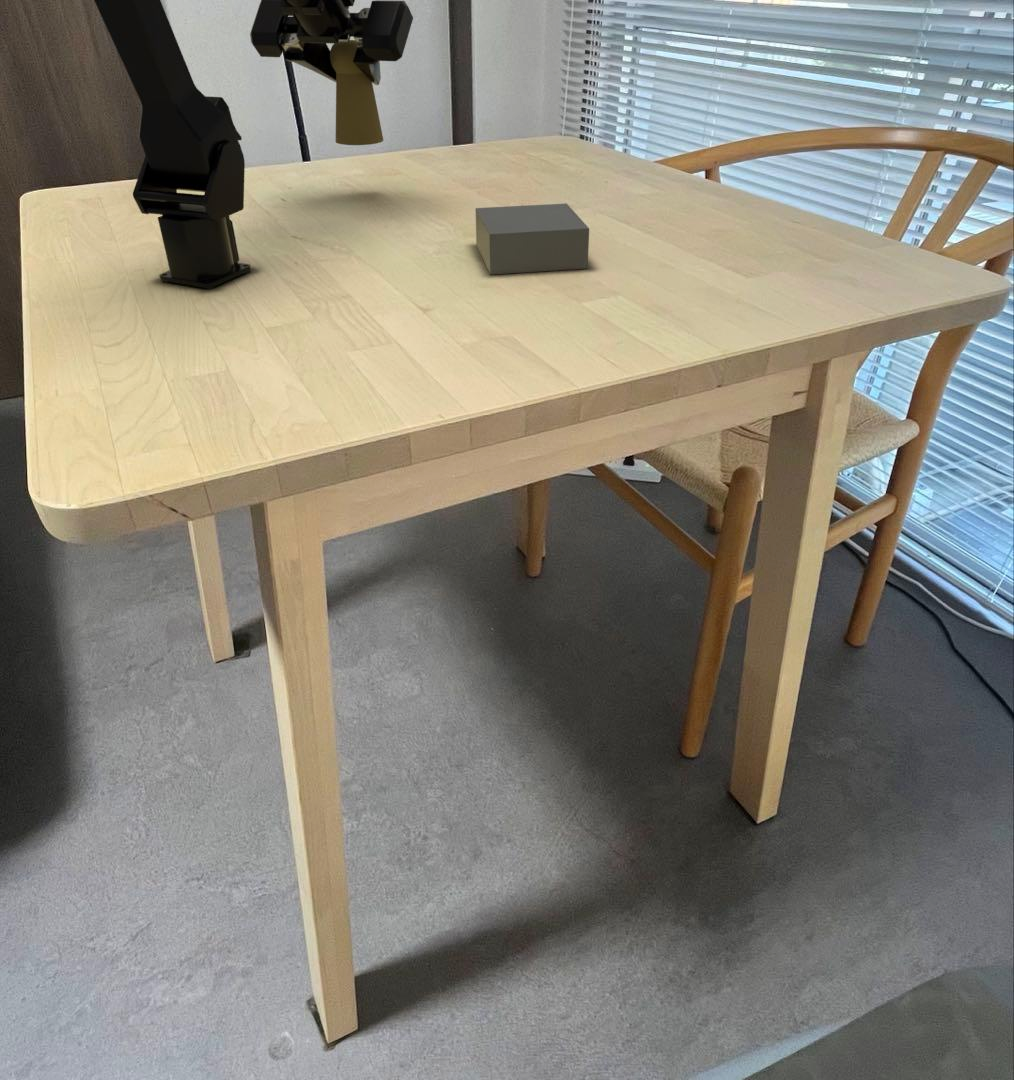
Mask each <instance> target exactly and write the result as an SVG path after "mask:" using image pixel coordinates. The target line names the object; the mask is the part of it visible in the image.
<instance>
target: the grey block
mask: <svg viewBox="0 0 1014 1080" xmlns="http://www.w3.org/2000/svg"><path fill="white" fill-rule="evenodd" d="M475 237H476V238H475V241H476V242H475V243H476V244H475V245H476V248H477V250H478V252H479V254H480V256H481V258H482V261H483V263H484V264H485V266H486V268H487V271H488V272H489V274H490V275H507V274H522V273H523V274H524V273H538V272H554V271H573V270H587V269H588V265H589V248H590V247H589V246H590V228H589V226H588V225H587V224H586V223H585V222H584V221H583V220H582V219H581V218H580V216H579V215H578V214H577V213H576V212H575V211H574V210H573V208H572V207H571V206H570V205H569V204H568V203H549V204H529V205H527V204H526V205H509V206H492V207H491V206H490V207H489V206H488V207H476V208H475Z"/></svg>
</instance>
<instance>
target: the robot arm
mask: <svg viewBox="0 0 1014 1080" xmlns="http://www.w3.org/2000/svg"><path fill="white" fill-rule="evenodd" d="M93 2H94V3H95V6H96V8H97V10H98V12H99V14H100V17H101V19H102V21H103V23H104V25H105V27H106V30H107V32H108V34H109V36H110V39H111V40H112V42H113V46H114V47H115V50H116V52H117V54H118V56H119V58H120V60H121V62H122V65H123V66H124V69H125V70H126V73H127V75H128V77H129V79H130V82H131V84H132V86H133V88H134V90H135V92H136V94H137V96H138V99H139V101H140V105H141V109H140V119H139V126H138V127H139V129H138V130H139V131H138V137H139V140H140V144H141V147H142V149H143V152H144V158H143V162H142V164H141V167H140V169H139V174H138V176H137V180H136V183H135V186H134V188H133V191H132V197H133V199H134V201H135V203H136V206H137V207H138V209H139V212H140V213H141V214H143V215H150V214H151V215H159V216H158V217H157V221H158V225H159V230H160V234H161V239H162V243H163V247H164V251H165V255H166V260H167V265H168V269H169V270H168V271H165V272H163V273H160V274H159V276H158V277H159V280H160V281H163V282H169V283H176V284H180V285H187V286H191V287H197V288H202V289H203V288H204V289H212V288H215V287H216V286H218V285H221V284H223V283H225V282H228V281H229V280H232V279H234V278H237V277H239V276H241V275H244V274H245V273H248V272H250V271H251V270H252V266H251V265H250V264H248V263H243V262H242V263H241V262H239V261H240V256H239V250H238V244H237V240H236V235H235V228H234V223H233V220H231V218H230V216H232V215H234V214H236V213H238V212H239V213H240V212H242V211H243V210H244V203H245V173H246V172H245V166H246V165H245V164H246V163H245V155H244V153H243V150H242V146H241V144H240V142H239V141H242V136H241V134H240V133H239V131H238V130H237V128H236V126H235V124H234V121H233V117H232V114H231V110H230V107H229V105H228V104H227V102H226V100H225V99H224V98H223V97H222V96H207V95H204V94H203V92H202V91H201V90H200V89H198V87H197V86H196V84H195V82H194V80H193V78H192V75H191V73H190V69H189V66H188V65H187V63H186V60H185V58H184V55H183V53H182V49H181V48H180V46H179V42H178V40H177V38H176V36H175V33H174V31H173V27H172V26H171V23H170V20H169V18H168V16H167V13H166V11H165V8H164V6H163V4H162V3H163V2H162V1H161V0H93ZM355 2H356V0H260V3H259V4H258V8H257V11H256V14H255V17H254V21H253V23H252V26H251V29H250V33H249V37H250V43H251V44H252V46H253V47H254V49H255V51H256V52H257V54H258V55H259V56H260V57H261V58H281V56H282V54H283V52H284V51H285V52H284V55H283V57H284V59H285V61H287V62H289V63H295V64H297V65H299V66H301V67H303V68H305V69H308V70H310V71H313V72H314V73H316V74H319V75H320V76H322V77H325V78H326V79H328V80H330V81H332V82H334V83H336V71H335V70H334V68H333V67H332V64H331V61H330V50H331V49H330V48H329V46H328V44H332V45H333V44H338V42H348V41H349V40H351V38H352V37H353V40H355V41H356V42H358V43H357V49H356V53H355V56H354V59H353V63H354V64H355V65H356V66H357V67H358V68H359V69H360V70H361V71H362V72H363V73H364V74H365V75H366V77H367V78H368V79H369V80H370V81H371V82H372V84H374V85H375V86H379V85H380V82H381V79H382V76H381V62H397V61H399V60H400V59H402V58H403V56H404V55H403V54H404V51H405V48H406V44H407V41H408V37H409V34H410V31H411V27H412V24H413V20H414V16H413V14H412V12H411V10H410V7H409V5H408V3H406V1H405V0H372V1H371V3H370V6H369V7H363V8H362V9H360V10H359V12H350V10H349V9H350V7H354V5H355ZM177 191H186V192H198V193H204V194H197V193H184V192H177ZM160 215H161V216H160Z"/></svg>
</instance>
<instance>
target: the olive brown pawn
mask: <svg viewBox="0 0 1014 1080" xmlns="http://www.w3.org/2000/svg"><path fill="white" fill-rule="evenodd" d="M357 43H358V42H356V41H355V39H350V40H349V41H348V42H338V44H332V45H331V48H330V49H329V50H330V61H331V64H332V67H333V68H334V70H335V71H336V82H335V143H336V144H338V145H343V146H345V145H346V146H368V145H375V144H379V143H382V142H384V136H383V131H382V125H381V120H380V116H379V110H378V105H377V100H376V94H375V91H374V85H373V84H374V83H373V82H371V81H370V80H369V79H368V78H367V77H366V75H365V74H364V73H363V72H362V71H361V70H360V69H359V68H358V67H357V66H356V65H355V64H354V63H353V59H354V56H355V53H356V49H357Z"/></svg>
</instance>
